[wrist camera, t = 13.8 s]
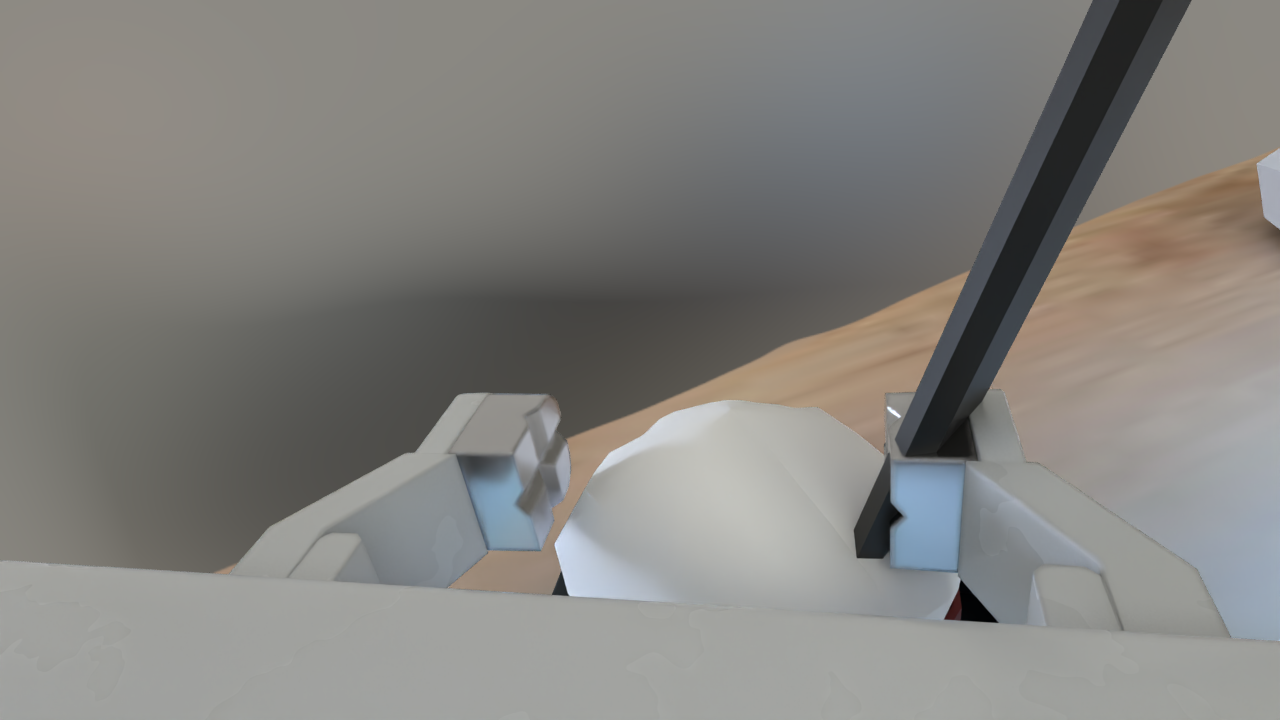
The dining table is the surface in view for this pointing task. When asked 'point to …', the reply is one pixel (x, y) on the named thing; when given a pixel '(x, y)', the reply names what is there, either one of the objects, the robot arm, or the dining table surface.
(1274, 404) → the dining table surface
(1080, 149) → the cocoa
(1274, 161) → the rock
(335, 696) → the robot arm
